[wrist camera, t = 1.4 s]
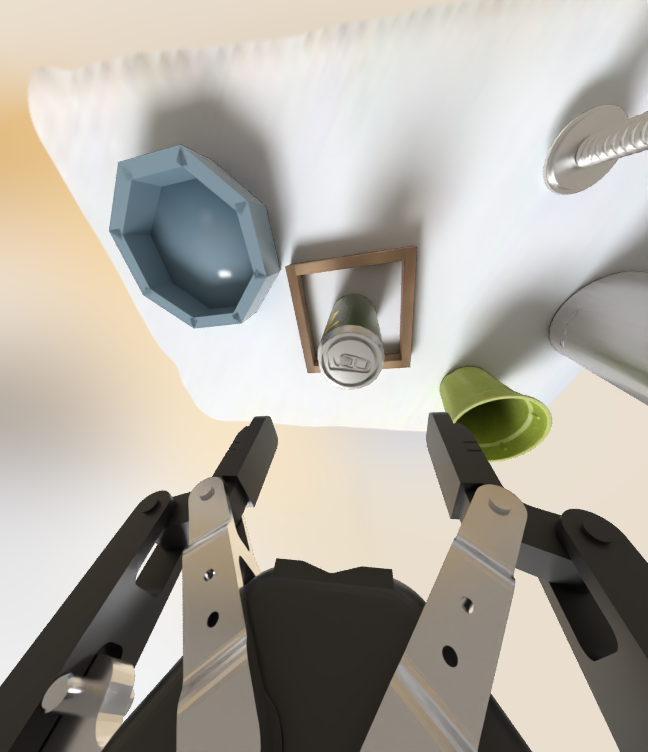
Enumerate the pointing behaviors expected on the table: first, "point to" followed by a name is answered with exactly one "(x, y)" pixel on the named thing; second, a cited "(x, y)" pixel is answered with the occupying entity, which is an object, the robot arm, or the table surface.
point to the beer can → (351, 344)
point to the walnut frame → (358, 260)
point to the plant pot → (495, 413)
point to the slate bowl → (193, 237)
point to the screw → (592, 147)
